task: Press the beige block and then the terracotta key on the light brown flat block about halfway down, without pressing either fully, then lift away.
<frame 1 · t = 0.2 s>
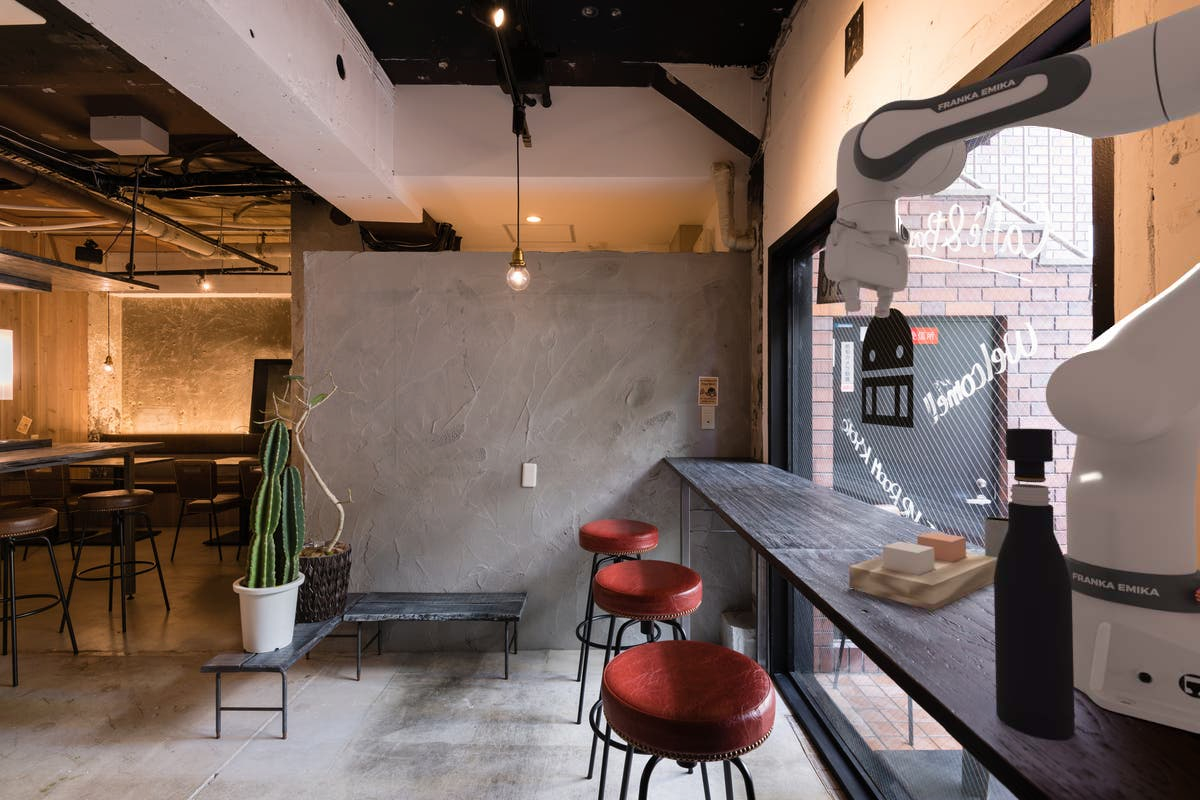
hand: (868, 314, 92), 47 cm above the table, fingers open, 8 cm apart
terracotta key: (941, 547, 109), point 6 cm above the table, slide at 0.0 cm
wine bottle: (1034, 724, 59), on the table
beige block: (908, 558, 101), point 6 cm above the table, slide at 0.0 cm
planter: (999, 572, 112), on the table
light brown flat block: (926, 584, 105), on the table
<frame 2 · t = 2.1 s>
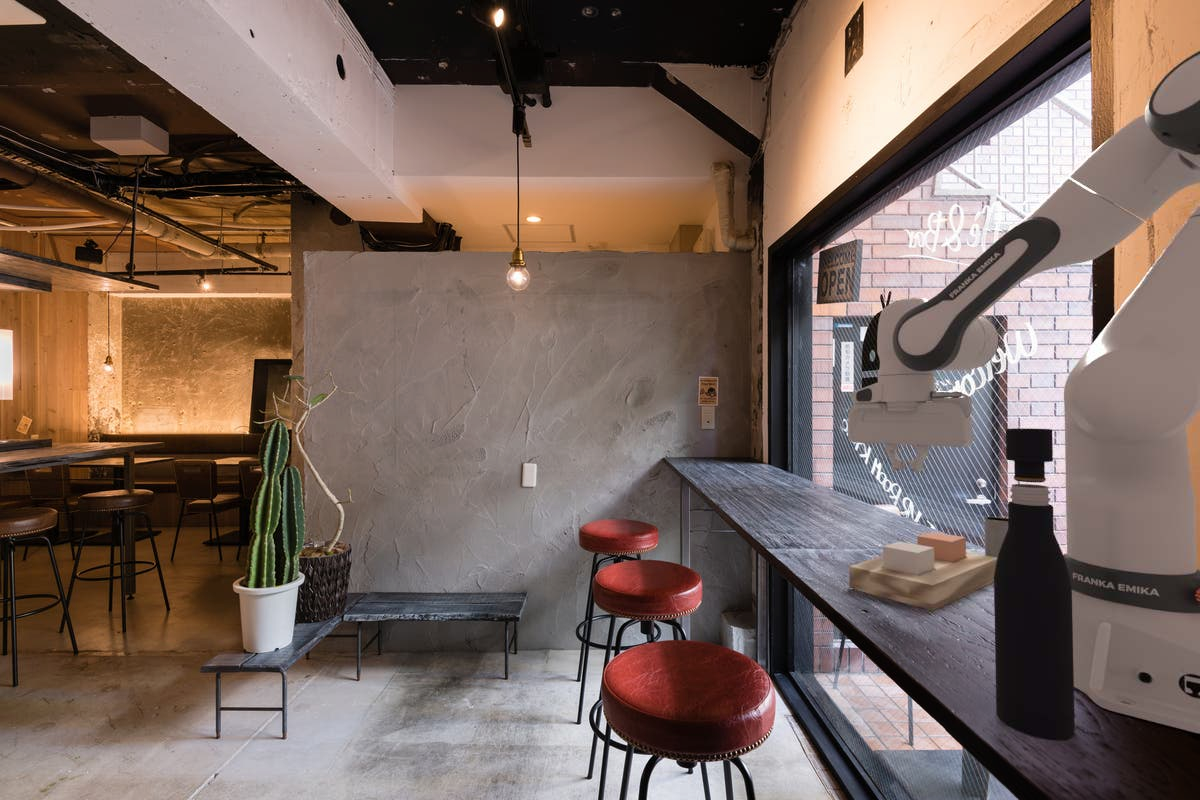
hand: (907, 470, 101), 21 cm above the table, fingers closed
nothing on the table moved.
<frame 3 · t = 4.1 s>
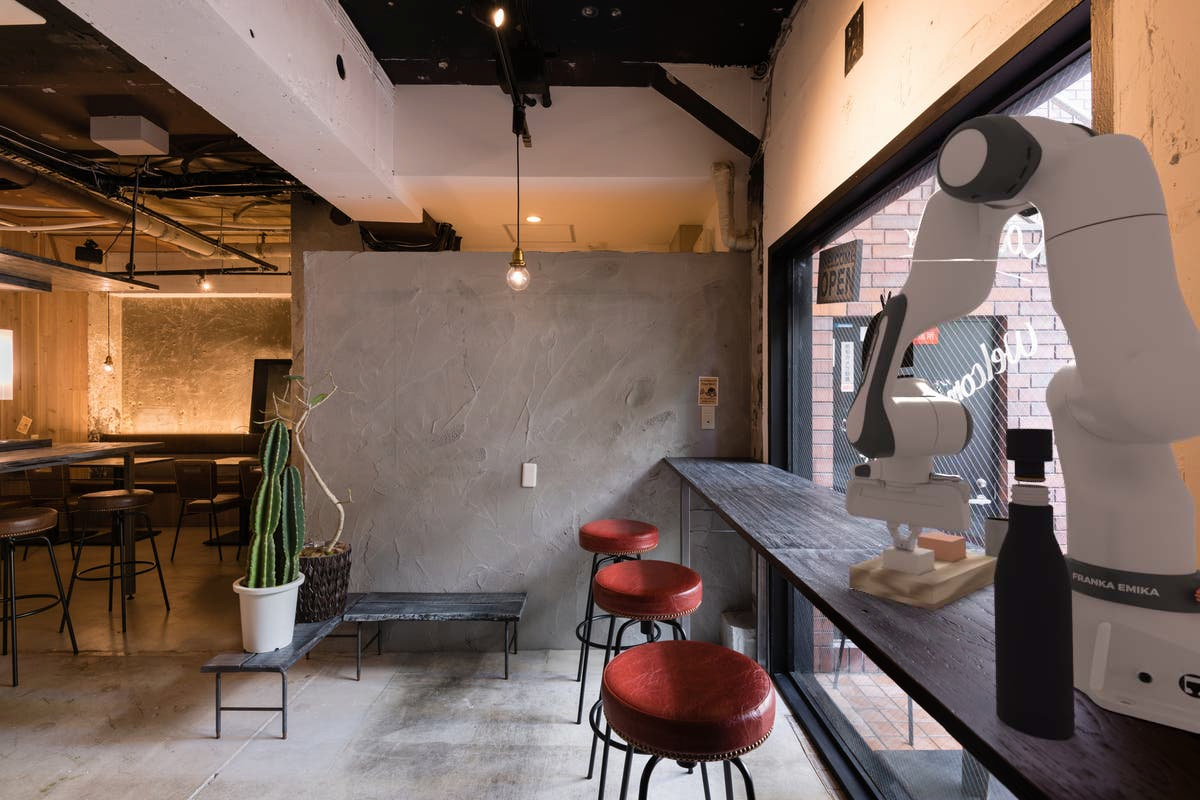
hand: (904, 549, 101), 7 cm above the table, fingers closed
beige block: (908, 561, 101), point 5 cm above the table, slide at 0.5 cm, touching gripper
everything else where it was.
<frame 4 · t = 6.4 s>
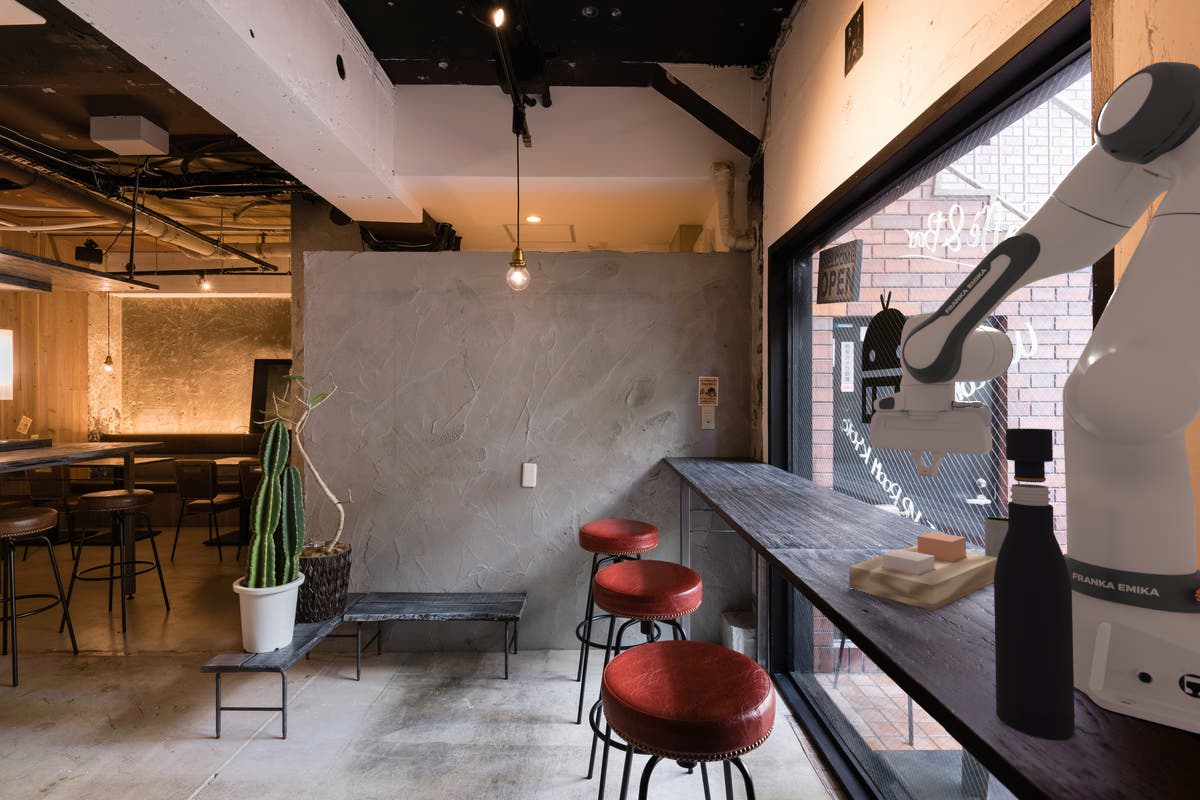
hand: (927, 476, 106), 20 cm above the table, fingers closed
beige block: (908, 566, 101), point 4 cm above the table, slide at 1.4 cm
everything else where it was.
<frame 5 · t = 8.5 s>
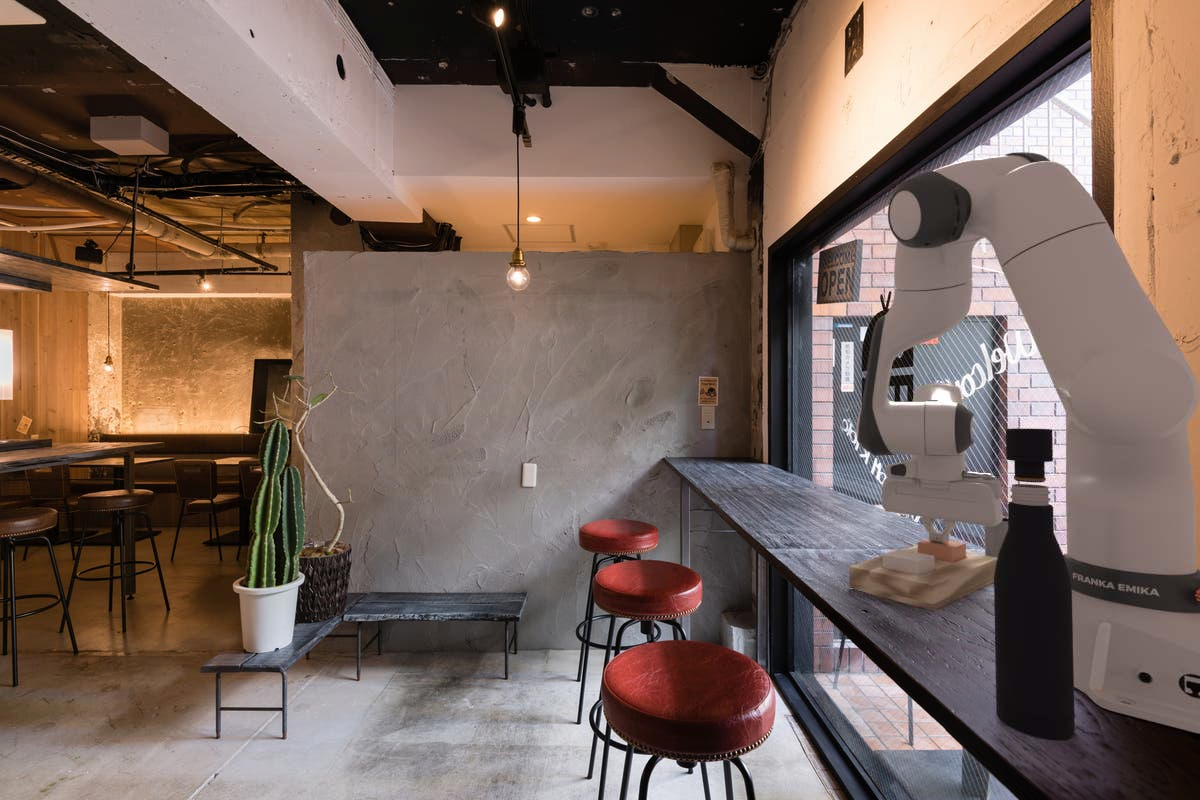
hand: (938, 542, 109), 7 cm above the table, fingers closed
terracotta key: (941, 553, 109), point 5 cm above the table, slide at 1.1 cm
everything else where it was.
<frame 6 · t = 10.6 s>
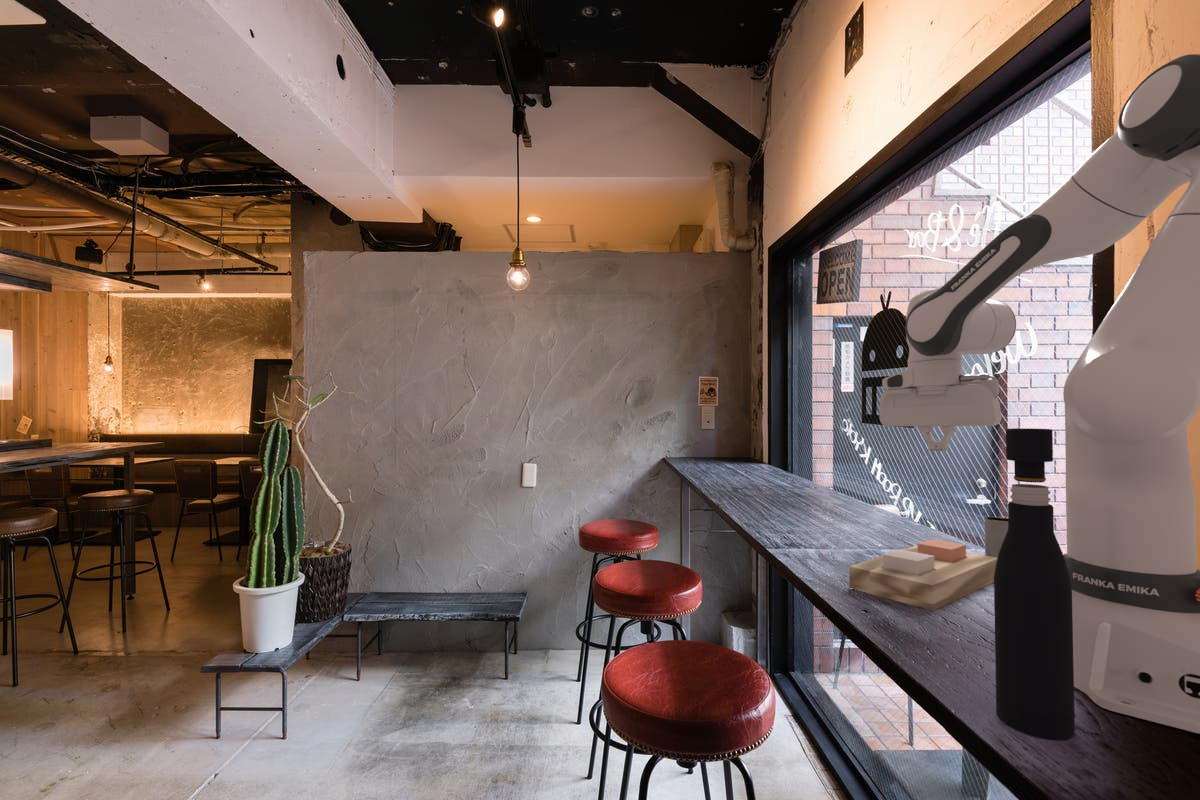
hand: (938, 450, 108), 24 cm above the table, fingers closed
nothing on the table moved.
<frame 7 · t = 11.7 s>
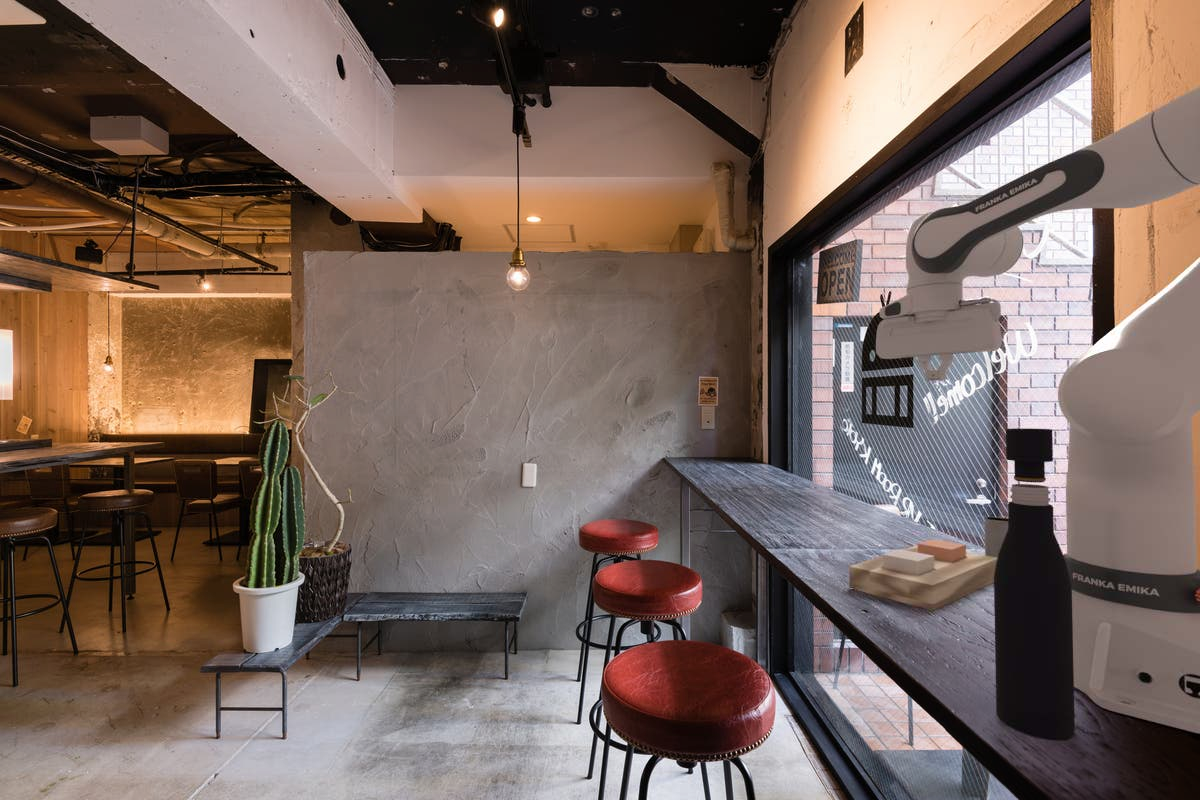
hand: (935, 380, 104), 37 cm above the table, fingers closed
nothing on the table moved.
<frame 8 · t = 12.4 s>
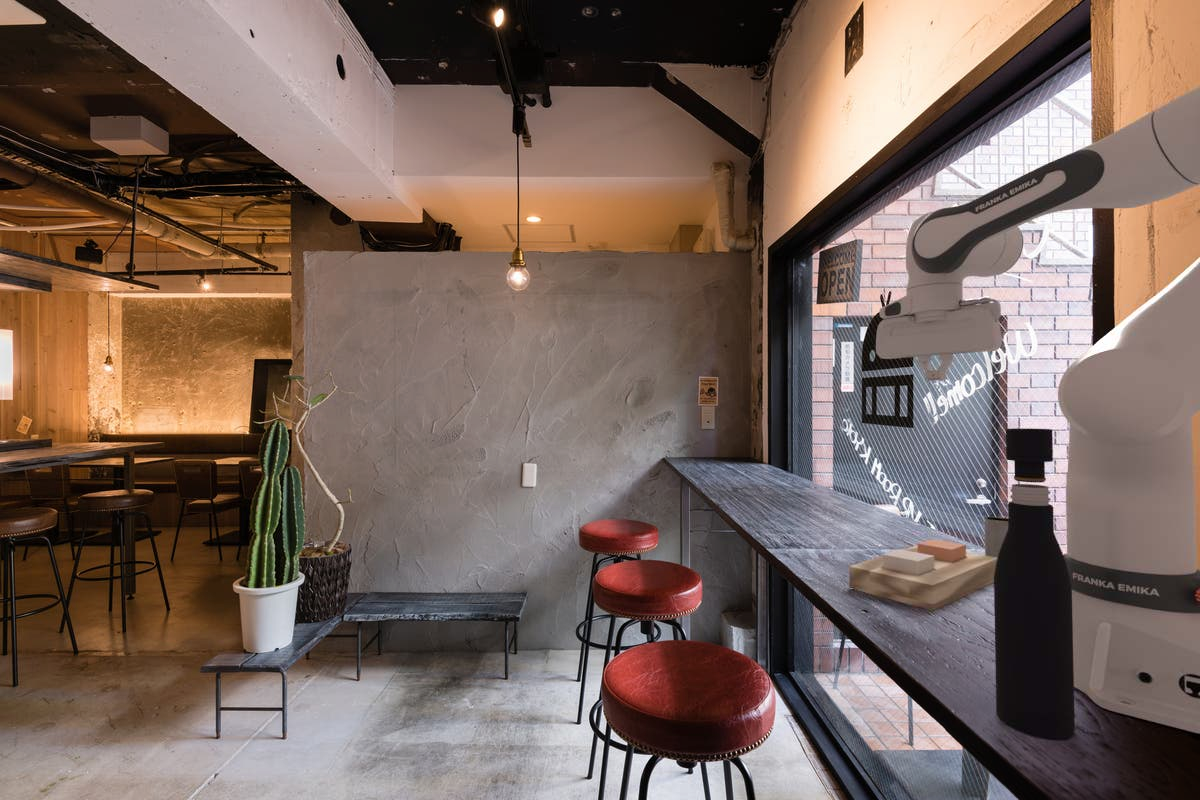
hand: (935, 380, 104), 37 cm above the table, fingers closed
nothing on the table moved.
at the end: beige block slide at 1.4 cm; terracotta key slide at 1.4 cm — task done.
